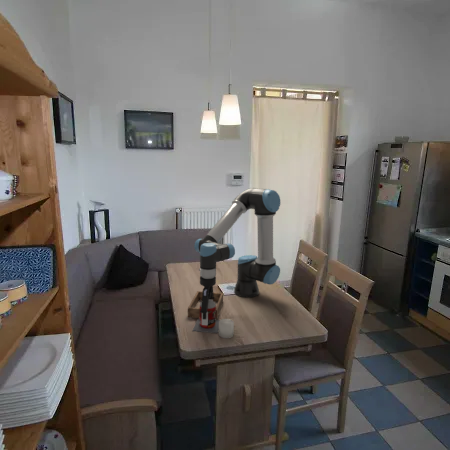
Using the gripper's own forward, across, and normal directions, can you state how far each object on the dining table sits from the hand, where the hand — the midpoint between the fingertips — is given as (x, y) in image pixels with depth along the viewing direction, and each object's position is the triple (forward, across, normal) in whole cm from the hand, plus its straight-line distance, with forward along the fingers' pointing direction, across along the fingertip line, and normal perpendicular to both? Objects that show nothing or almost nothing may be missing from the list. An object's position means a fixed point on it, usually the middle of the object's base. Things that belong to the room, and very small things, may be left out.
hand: (207, 318), depth 154 cm
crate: (+4, -18, -4) cm, 19 cm away
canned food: (+4, 0, 0) cm, 4 cm away
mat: (+4, 0, 0) cm, 4 cm away
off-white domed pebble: (+4, +6, +10) cm, 12 cm away
